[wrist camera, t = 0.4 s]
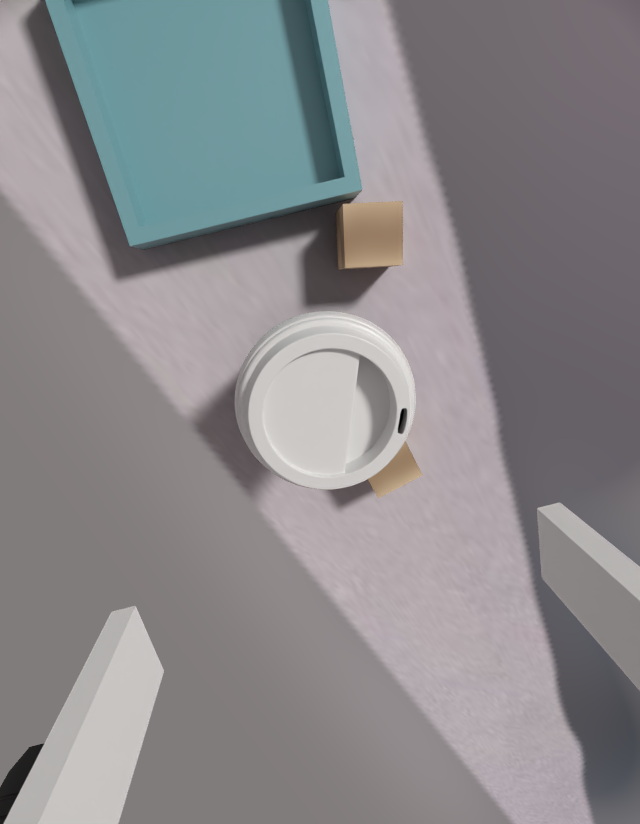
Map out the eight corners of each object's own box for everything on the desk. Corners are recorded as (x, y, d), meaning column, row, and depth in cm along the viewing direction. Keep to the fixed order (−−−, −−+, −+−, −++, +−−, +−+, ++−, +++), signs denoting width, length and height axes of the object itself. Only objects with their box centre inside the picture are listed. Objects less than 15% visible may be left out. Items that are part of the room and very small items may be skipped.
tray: (53, -18, 27) (26, -54, 24) (303, -77, 27) (305, -120, 24) (143, 249, 32) (129, 246, 29) (355, 197, 32) (362, 189, 29)
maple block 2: (348, 440, 38) (356, 458, 34) (389, 418, 37) (401, 434, 33) (368, 476, 39) (378, 498, 35) (408, 455, 38) (422, 475, 35)
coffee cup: (333, 435, 37) (366, 531, 23) (231, 385, 35) (196, 457, 21) (390, 336, 35) (464, 373, 21) (285, 277, 33) (287, 274, 19)
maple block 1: (335, 213, 32) (342, 203, 28) (388, 210, 32) (402, 201, 29) (338, 269, 33) (345, 268, 30) (389, 266, 34) (402, 264, 30)
